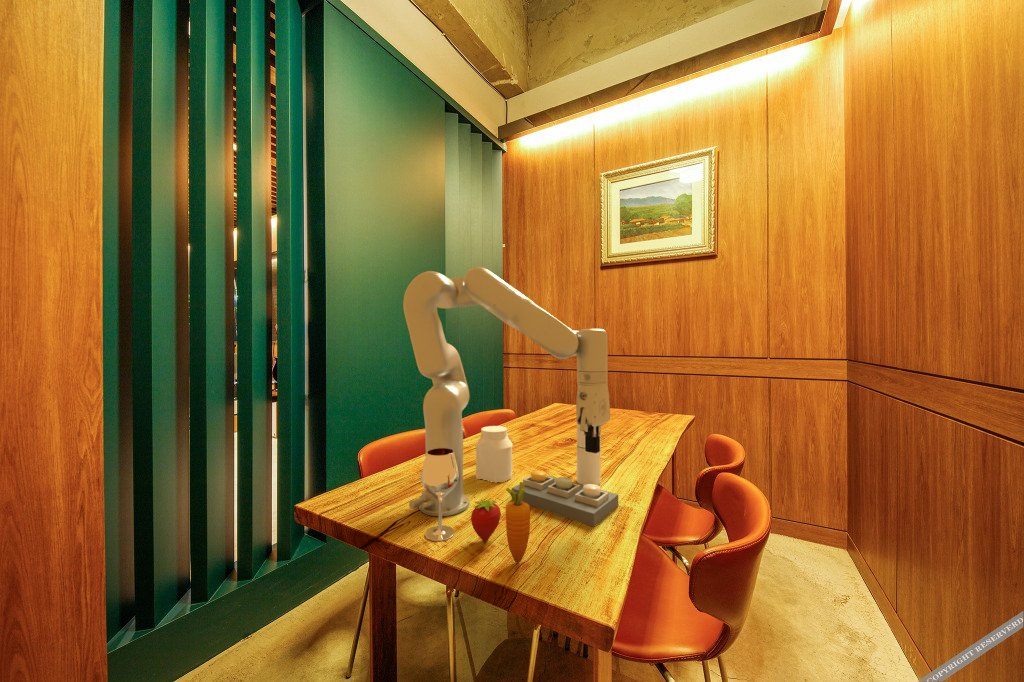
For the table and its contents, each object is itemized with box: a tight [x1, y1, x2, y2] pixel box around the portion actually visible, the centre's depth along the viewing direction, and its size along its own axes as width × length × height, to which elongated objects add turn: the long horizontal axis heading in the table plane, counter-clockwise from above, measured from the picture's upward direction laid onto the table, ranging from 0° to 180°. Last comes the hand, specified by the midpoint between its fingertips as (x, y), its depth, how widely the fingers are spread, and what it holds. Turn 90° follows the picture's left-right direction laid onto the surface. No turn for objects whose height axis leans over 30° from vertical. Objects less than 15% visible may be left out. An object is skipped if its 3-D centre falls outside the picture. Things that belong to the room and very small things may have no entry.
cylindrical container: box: [576, 422, 602, 486], centre depth 114 cm, size 7×7×25 cm
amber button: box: [530, 470, 547, 482], centre depth 103 cm, size 4×4×2 cm
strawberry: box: [470, 494, 502, 543], centre depth 79 cm, size 6×8×10 cm
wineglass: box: [420, 448, 459, 542], centre depth 82 cm, size 8×8×18 cm
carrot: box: [505, 481, 531, 564], centre depth 71 cm, size 5×5×15 cm
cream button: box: [583, 484, 601, 497], centre depth 93 cm, size 4×4×2 cm
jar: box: [475, 425, 513, 484], centre depth 118 cm, size 12×10×15 cm
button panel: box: [511, 474, 619, 528], centre depth 98 cm, size 14×24×4 cm, turn 52°
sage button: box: [555, 476, 573, 489], centre depth 98 cm, size 4×4×2 cm
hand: (592, 451), depth 93 cm, fingers closed
